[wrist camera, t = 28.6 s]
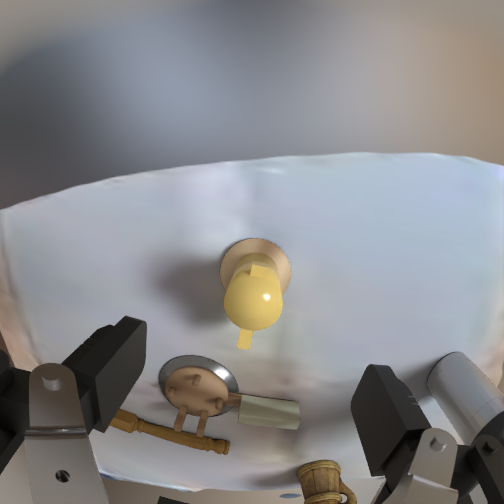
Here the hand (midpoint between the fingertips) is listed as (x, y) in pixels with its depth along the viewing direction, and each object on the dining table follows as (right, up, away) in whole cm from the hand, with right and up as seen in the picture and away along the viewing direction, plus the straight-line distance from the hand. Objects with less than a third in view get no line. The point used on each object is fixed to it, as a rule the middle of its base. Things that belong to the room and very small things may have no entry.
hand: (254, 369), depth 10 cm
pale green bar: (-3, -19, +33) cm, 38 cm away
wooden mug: (+16, -42, +38) cm, 58 cm away
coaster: (0, +1, +29) cm, 29 cm away
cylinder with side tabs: (0, 0, +28) cm, 28 cm away
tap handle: (-19, -28, +37) cm, 50 cm away
